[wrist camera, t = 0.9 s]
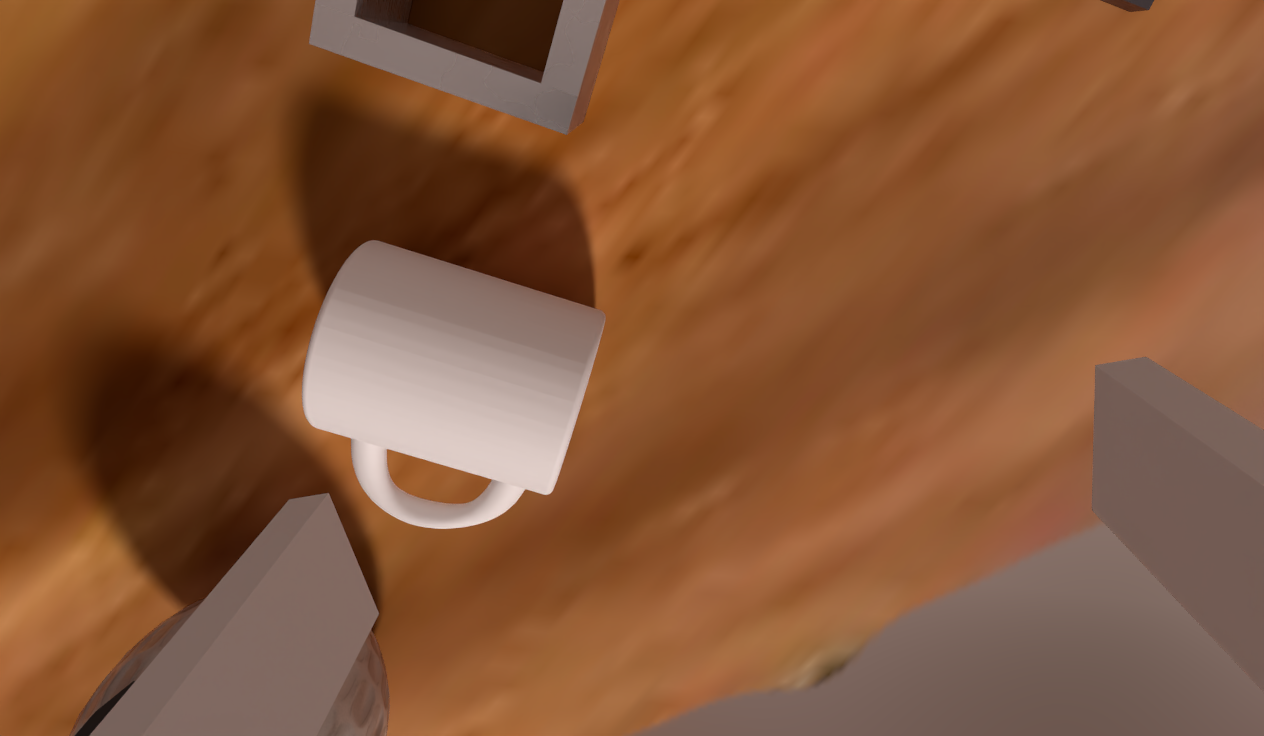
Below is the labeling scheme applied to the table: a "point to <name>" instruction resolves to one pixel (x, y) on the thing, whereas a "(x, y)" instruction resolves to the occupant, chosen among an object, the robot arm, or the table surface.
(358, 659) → the vase
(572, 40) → the link
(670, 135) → the table surface
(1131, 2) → the keeper
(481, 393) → the mug
